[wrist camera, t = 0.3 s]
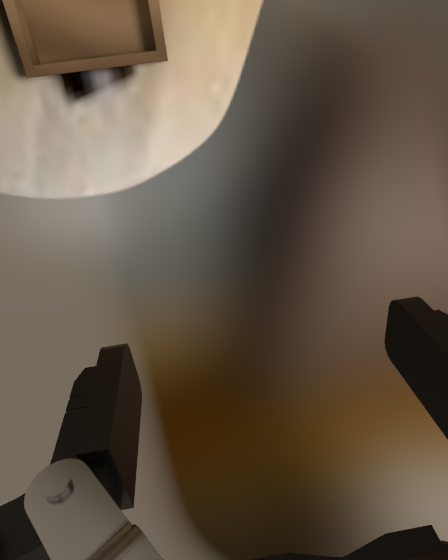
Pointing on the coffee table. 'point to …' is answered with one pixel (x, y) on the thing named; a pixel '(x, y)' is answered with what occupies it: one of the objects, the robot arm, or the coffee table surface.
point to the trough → (85, 34)
